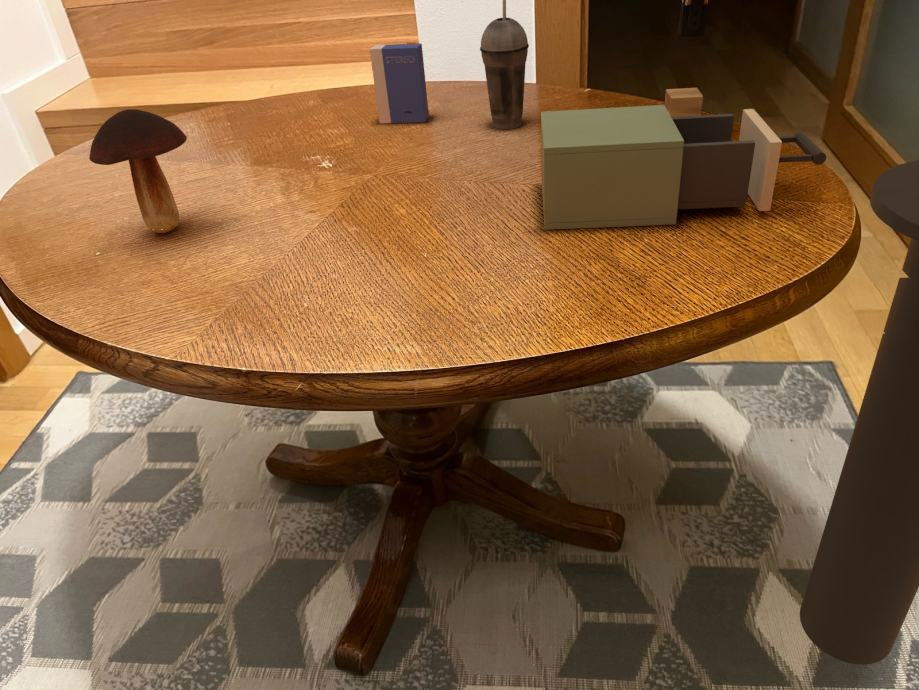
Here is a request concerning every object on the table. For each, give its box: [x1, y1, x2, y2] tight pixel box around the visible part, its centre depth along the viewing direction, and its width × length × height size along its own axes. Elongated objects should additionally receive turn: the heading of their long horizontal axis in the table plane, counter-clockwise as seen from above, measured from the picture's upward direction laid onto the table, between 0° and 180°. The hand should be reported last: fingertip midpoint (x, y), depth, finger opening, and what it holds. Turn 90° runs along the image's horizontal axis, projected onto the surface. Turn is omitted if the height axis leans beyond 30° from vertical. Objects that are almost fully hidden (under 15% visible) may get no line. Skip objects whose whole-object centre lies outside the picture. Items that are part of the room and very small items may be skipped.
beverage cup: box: [479, 0, 530, 130], centre depth 109 cm, size 7×7×20 cm
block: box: [664, 87, 704, 117], centre depth 108 cm, size 4×4×4 cm
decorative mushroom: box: [88, 108, 188, 234], centre depth 87 cm, size 11×11×15 cm
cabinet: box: [540, 104, 684, 231], centre depth 85 cm, size 15×13×10 cm
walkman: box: [369, 41, 430, 124], centre depth 117 cm, size 8×3×12 cm, turn 79°
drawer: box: [671, 108, 827, 212], centre depth 83 cm, size 19×11×8 cm, turn 86°
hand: (691, 34), depth 101 cm, fingers closed
